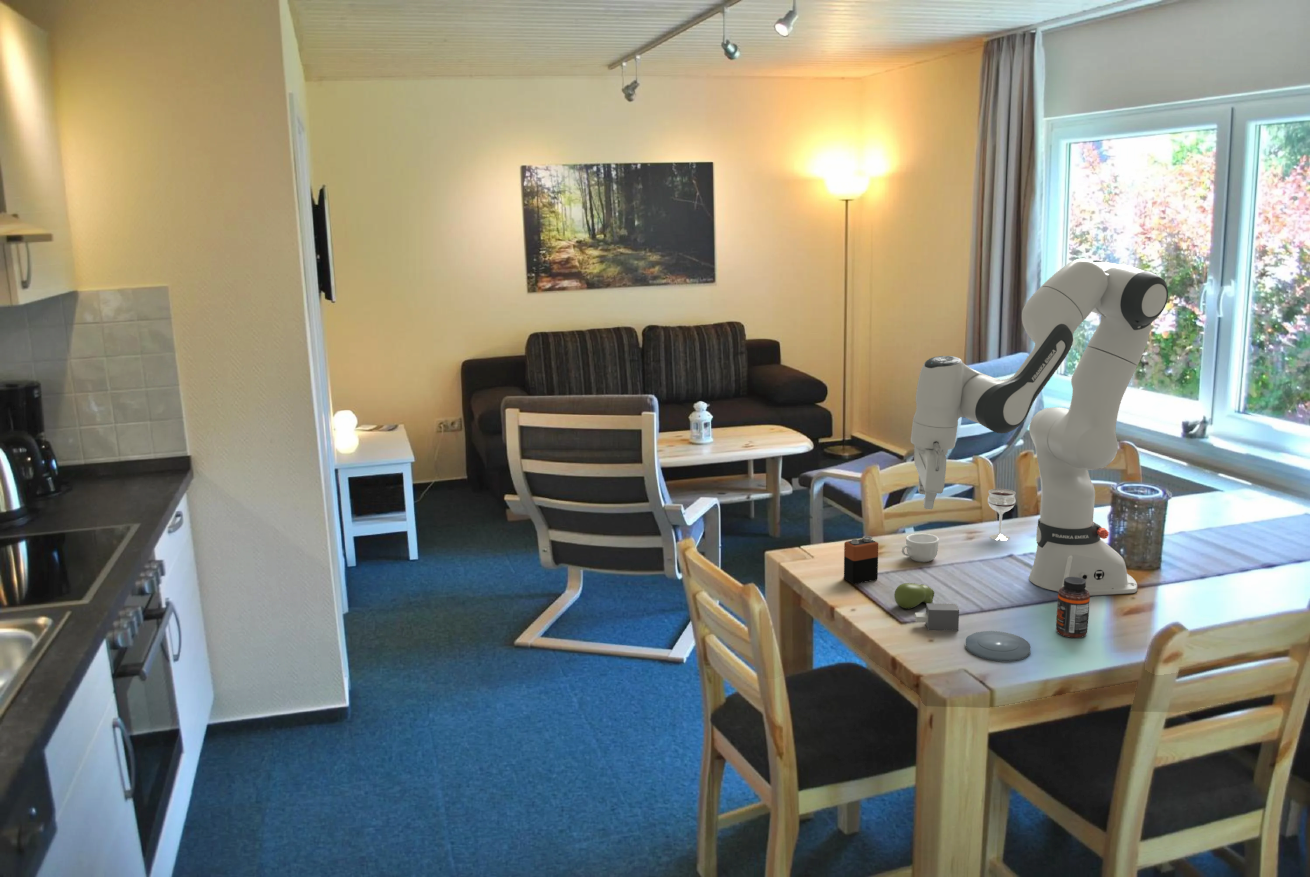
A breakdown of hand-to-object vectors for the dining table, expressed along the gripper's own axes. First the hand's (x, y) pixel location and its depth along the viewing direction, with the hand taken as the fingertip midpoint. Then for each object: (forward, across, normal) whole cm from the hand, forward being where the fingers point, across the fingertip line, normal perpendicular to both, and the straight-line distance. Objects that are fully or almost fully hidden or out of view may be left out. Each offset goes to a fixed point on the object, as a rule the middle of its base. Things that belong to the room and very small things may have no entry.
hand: (925, 500), depth 215 cm
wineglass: (+25, +51, -28) cm, 63 cm away
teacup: (+26, +33, -5) cm, 42 cm away
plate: (+23, -18, -14) cm, 32 cm away
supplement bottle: (+22, -10, -30) cm, 39 cm away
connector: (+24, -8, -4) cm, 26 cm away
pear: (+25, +4, -1) cm, 25 cm away
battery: (+26, +18, +9) cm, 34 cm away
